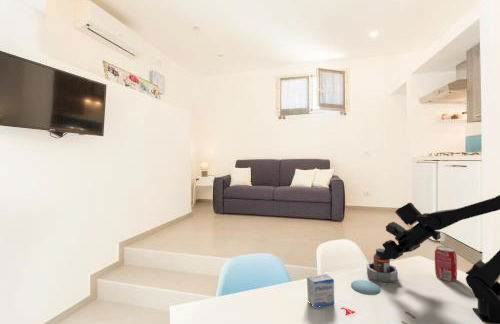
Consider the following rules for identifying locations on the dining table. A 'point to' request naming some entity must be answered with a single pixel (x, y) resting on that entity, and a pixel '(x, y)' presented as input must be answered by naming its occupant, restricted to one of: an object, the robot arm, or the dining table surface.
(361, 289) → the teal mat
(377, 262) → the supplement bottle
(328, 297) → the medicine box
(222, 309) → the dining table surface
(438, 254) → the soda can
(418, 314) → the dining table surface
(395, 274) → the grey octagonal bowl
